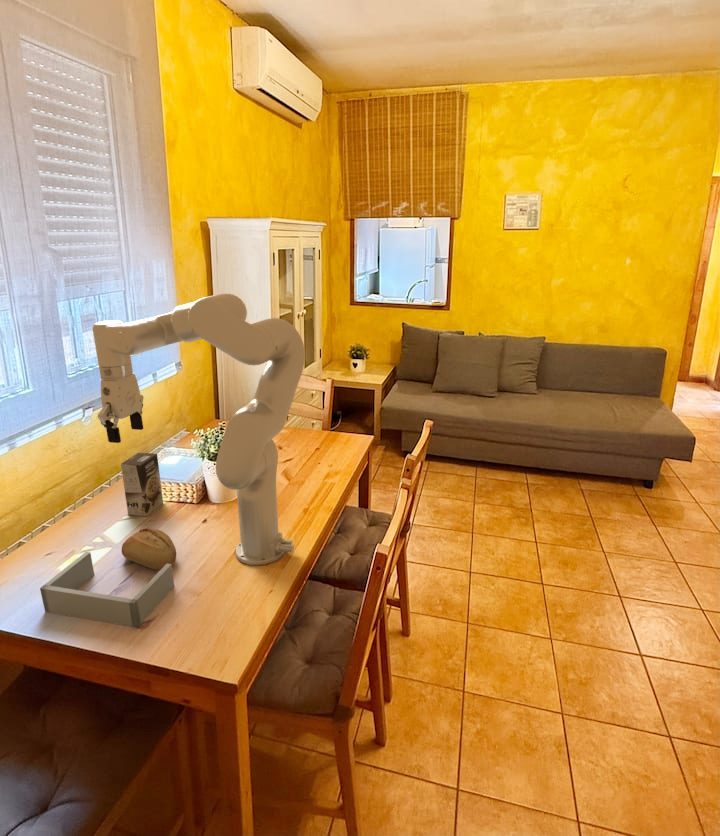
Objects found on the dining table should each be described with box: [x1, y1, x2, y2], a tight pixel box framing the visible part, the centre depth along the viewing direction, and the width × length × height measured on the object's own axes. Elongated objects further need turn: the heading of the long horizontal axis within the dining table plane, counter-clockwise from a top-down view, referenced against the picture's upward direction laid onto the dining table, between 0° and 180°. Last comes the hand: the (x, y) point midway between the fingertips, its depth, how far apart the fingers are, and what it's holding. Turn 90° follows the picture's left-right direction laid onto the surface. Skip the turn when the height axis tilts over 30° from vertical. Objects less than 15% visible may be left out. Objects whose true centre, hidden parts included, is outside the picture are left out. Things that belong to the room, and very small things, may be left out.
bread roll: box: [120, 527, 177, 571], centre depth 134 cm, size 10×15×8 cm, turn 67°
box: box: [39, 551, 175, 628], centre depth 120 cm, size 22×14×6 cm, turn 77°
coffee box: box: [120, 452, 164, 517], centre depth 158 cm, size 9×6×16 cm
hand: (126, 435), depth 140 cm, fingers open, 9 cm apart
